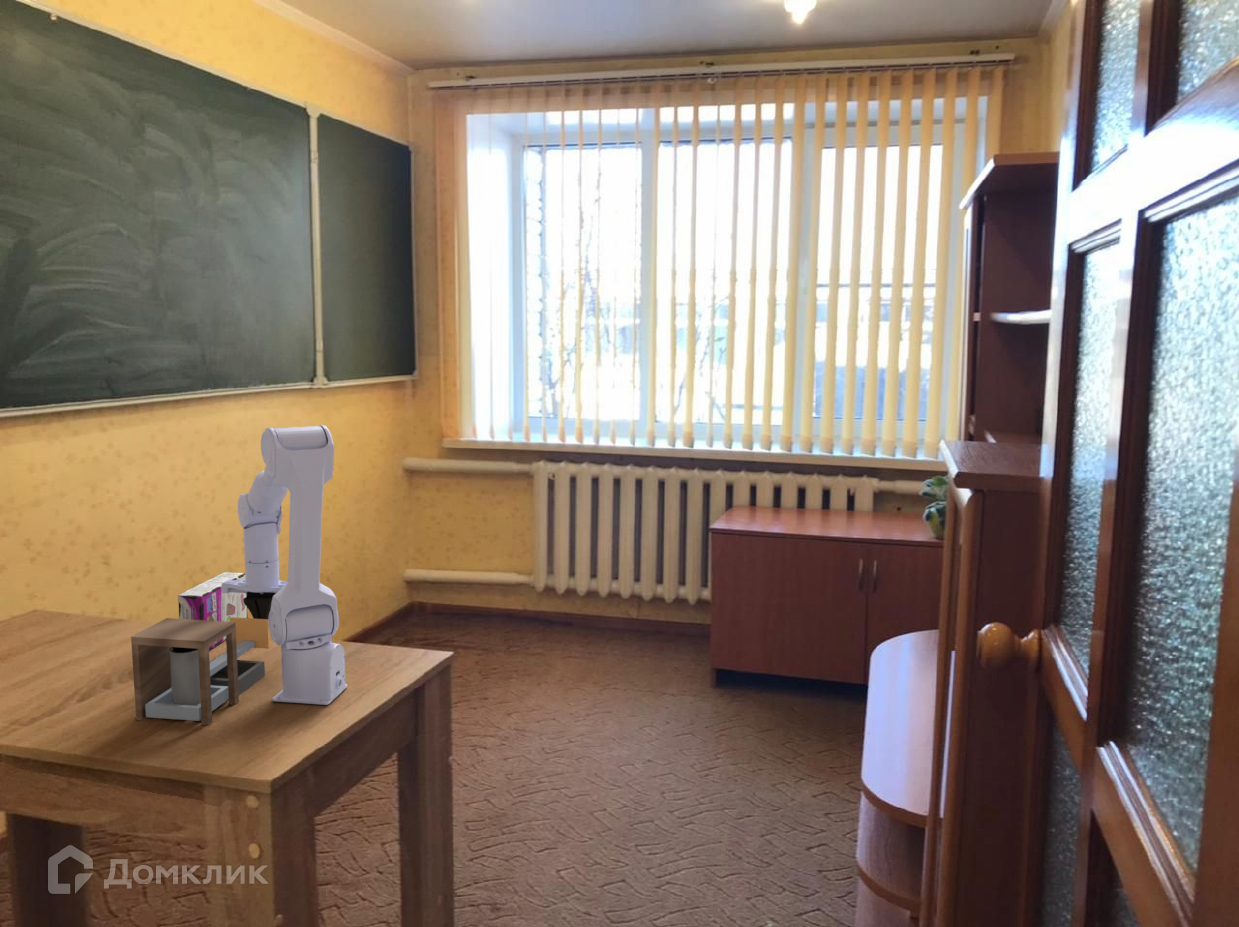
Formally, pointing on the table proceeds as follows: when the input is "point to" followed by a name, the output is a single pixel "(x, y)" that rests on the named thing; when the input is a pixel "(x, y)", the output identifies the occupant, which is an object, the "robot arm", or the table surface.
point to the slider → (247, 637)
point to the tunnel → (155, 659)
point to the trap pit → (240, 674)
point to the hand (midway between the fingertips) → (264, 632)
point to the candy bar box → (213, 602)
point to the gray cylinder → (185, 676)
